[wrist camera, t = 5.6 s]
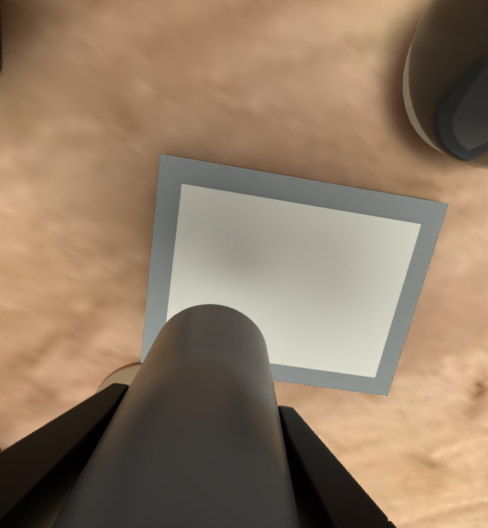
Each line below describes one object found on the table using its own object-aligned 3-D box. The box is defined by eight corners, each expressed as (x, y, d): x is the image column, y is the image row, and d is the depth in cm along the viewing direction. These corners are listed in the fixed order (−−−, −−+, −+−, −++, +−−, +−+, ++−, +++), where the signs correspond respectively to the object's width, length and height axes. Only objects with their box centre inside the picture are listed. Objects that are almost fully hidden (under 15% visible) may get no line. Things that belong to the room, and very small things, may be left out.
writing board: (164, 155, 19) (159, 153, 17) (438, 203, 20) (451, 203, 18) (145, 354, 22) (139, 364, 21) (381, 387, 23) (389, 398, 22)
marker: (152, 382, 12) (-229, 1248, 2) (164, 282, 11) (-431, 1036, 1) (256, 397, 12) (333, 1226, 2) (277, 301, 11) (545, 1042, 1)
